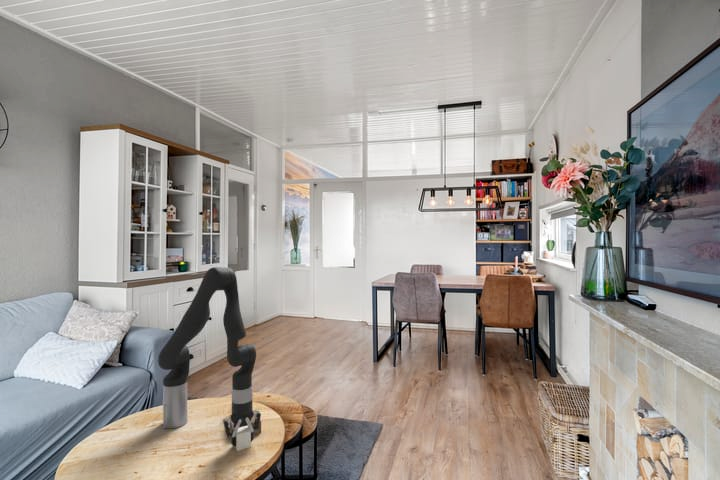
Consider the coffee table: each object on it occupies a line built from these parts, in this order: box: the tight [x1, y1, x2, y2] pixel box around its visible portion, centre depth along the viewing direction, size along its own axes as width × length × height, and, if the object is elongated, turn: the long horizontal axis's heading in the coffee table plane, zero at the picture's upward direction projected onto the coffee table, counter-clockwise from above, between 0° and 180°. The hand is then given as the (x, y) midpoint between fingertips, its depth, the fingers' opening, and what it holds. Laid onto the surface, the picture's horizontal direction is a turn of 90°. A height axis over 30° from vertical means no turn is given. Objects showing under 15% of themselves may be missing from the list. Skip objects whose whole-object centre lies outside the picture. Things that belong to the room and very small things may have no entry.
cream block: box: [234, 426, 252, 452], centre depth 141 cm, size 5×5×6 cm
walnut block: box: [228, 409, 262, 435], centre depth 154 cm, size 11×11×5 cm
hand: (242, 443), depth 141 cm, fingers open, 5 cm apart
